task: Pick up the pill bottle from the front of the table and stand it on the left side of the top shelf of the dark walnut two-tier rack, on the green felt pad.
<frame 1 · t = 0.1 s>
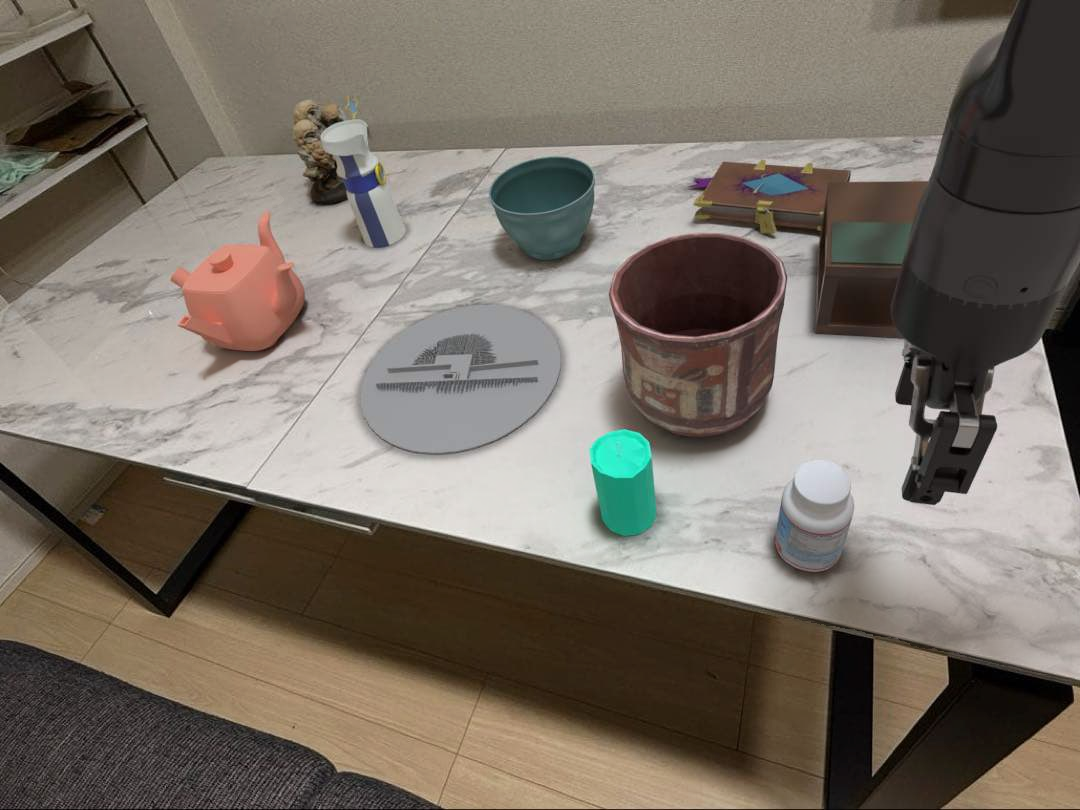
hand: (914, 447, 46), 21 cm above the table, tool pointing down, fingers open, 8 cm apart
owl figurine: (344, 185, 135), on the table
candle: (628, 512, 72), on the table
pill bottle: (807, 547, 65), on the table
water bottle: (386, 235, 119), on the table
teapot: (267, 325, 107), on the table
pottery: (696, 400, 81), on the table
rack: (865, 290, 88), on the table
book: (758, 206, 105), on the table
plate: (460, 374, 91), on the table
flower pot: (552, 244, 108), on the table
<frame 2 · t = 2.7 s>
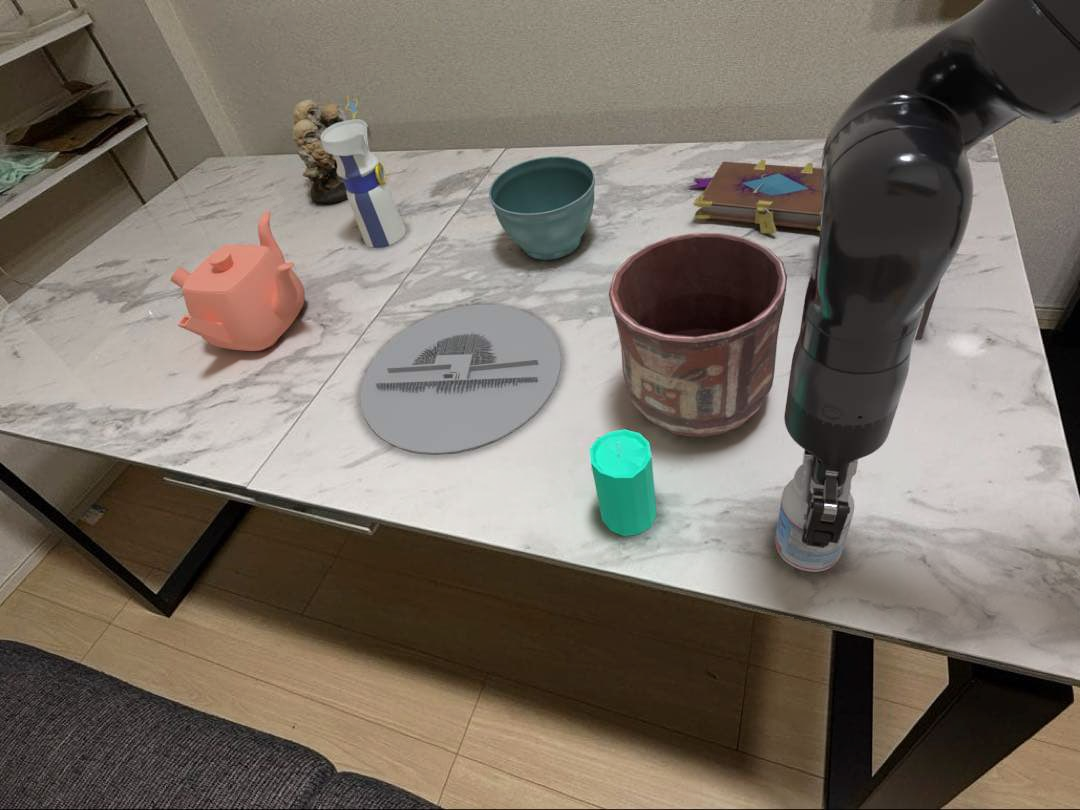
hand: (815, 509, 61), 7 cm above the table, tool pointing down, fingers closed on pill bottle, 6 cm apart
pill bottle: (807, 547, 65), on the table, touching gripper
everything else where it was.
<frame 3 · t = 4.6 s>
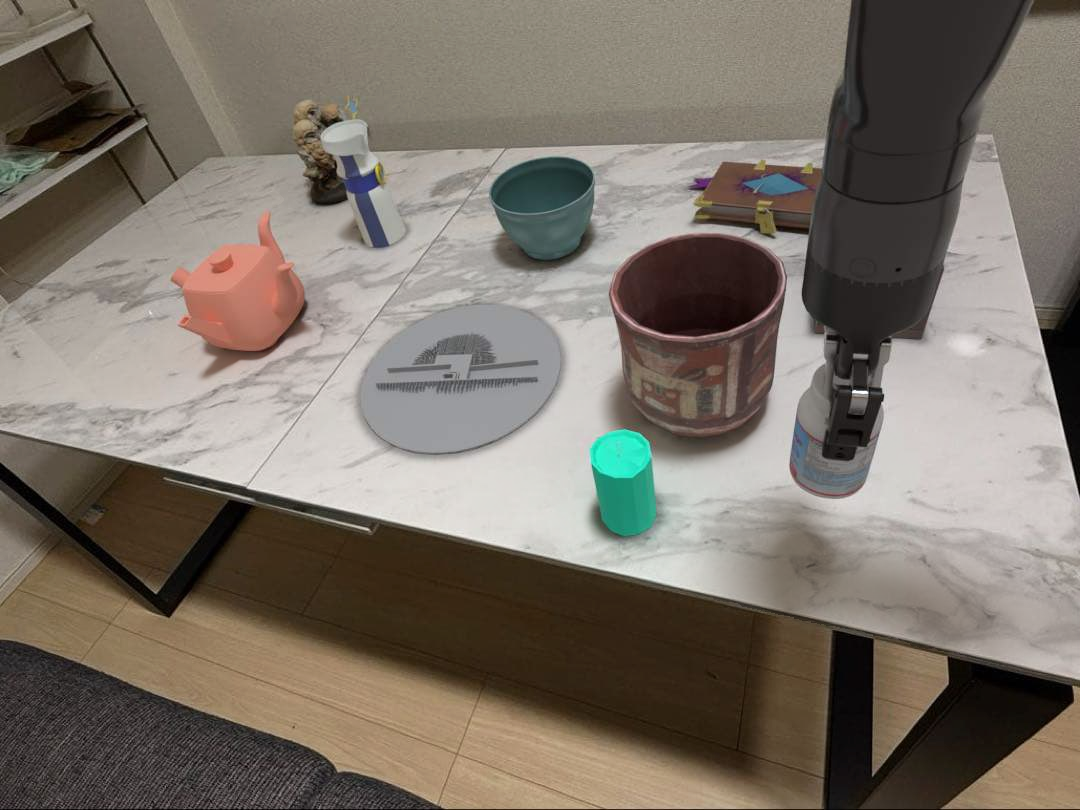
hand: (837, 421, 51), 19 cm above the table, tool pointing down, fingers closed on pill bottle, 6 cm apart
pill bottle: (826, 474, 56), point 12 cm above the table, touching gripper
everything else where it was.
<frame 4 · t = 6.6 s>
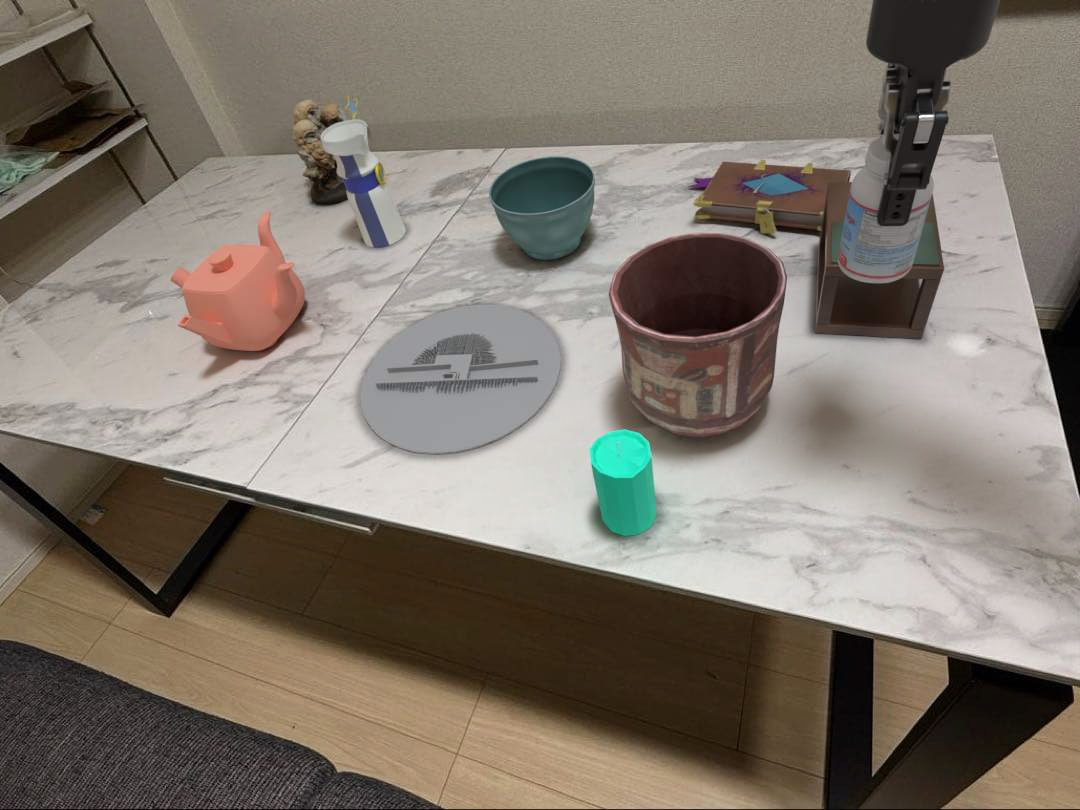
hand: (888, 199, 55), 28 cm above the table, tool pointing down, fingers closed on pill bottle, 6 cm apart
pill bottle: (872, 267, 60), point 21 cm above the table, touching gripper
everything else where it was.
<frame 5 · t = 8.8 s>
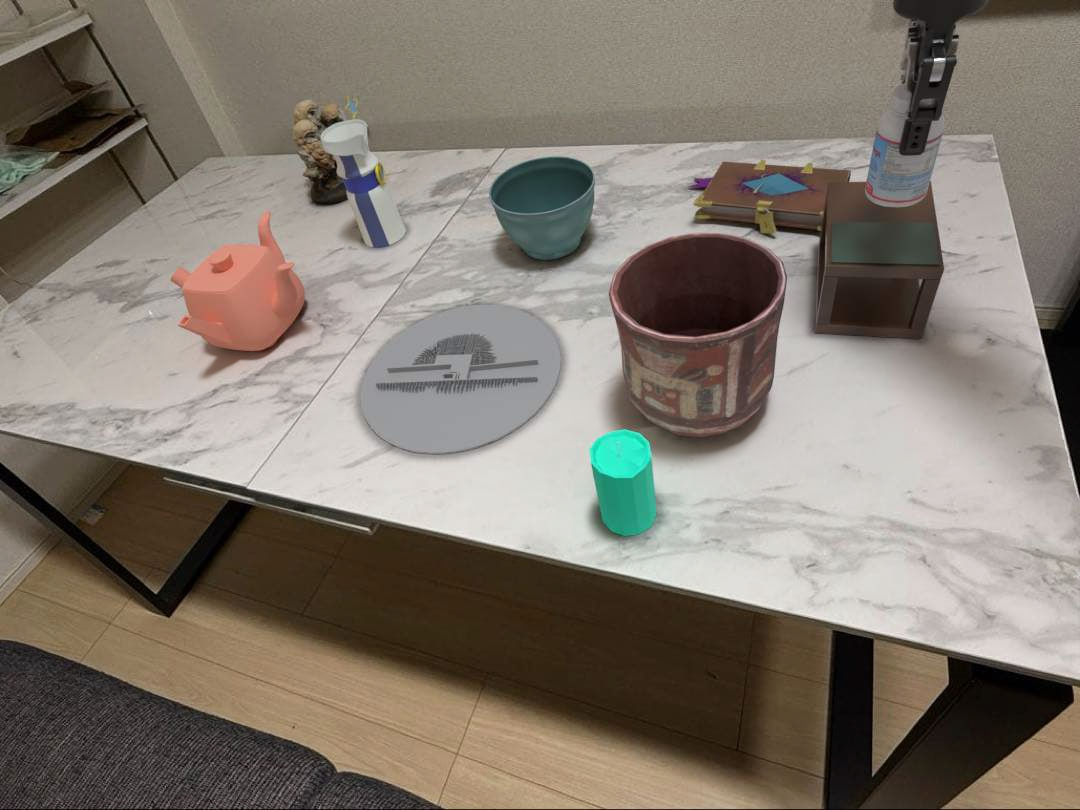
hand: (908, 136, 68), 24 cm above the table, tool pointing down, fingers closed on pill bottle, 6 cm apart
pill bottle: (894, 196, 73), point 17 cm above the table, touching gripper
everything else where it was.
when the fingers open (17 cm above the table, at t = 10.8 s): pill bottle stays where it is, resting on rack.
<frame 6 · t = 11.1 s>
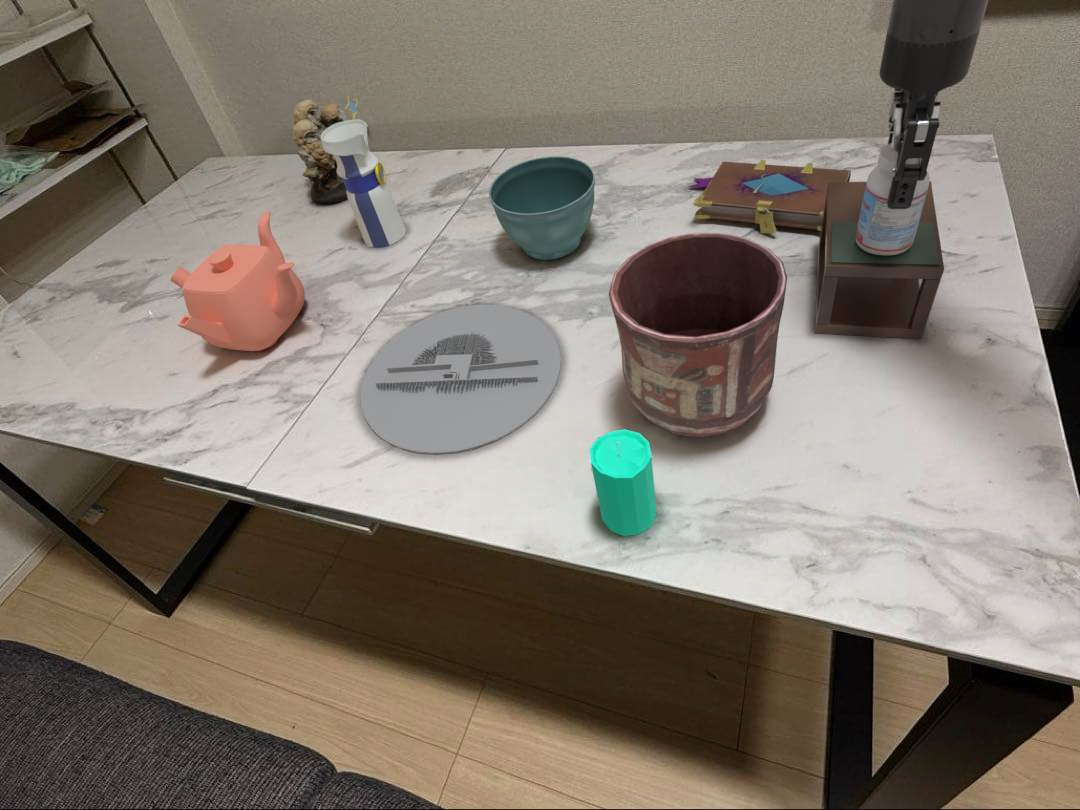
hand: (896, 185, 72), 18 cm above the table, tool pointing down, fingers open, 8 cm apart
pill bottle: (882, 244, 77), point 11 cm above the table, touching rack
everything else where it was.
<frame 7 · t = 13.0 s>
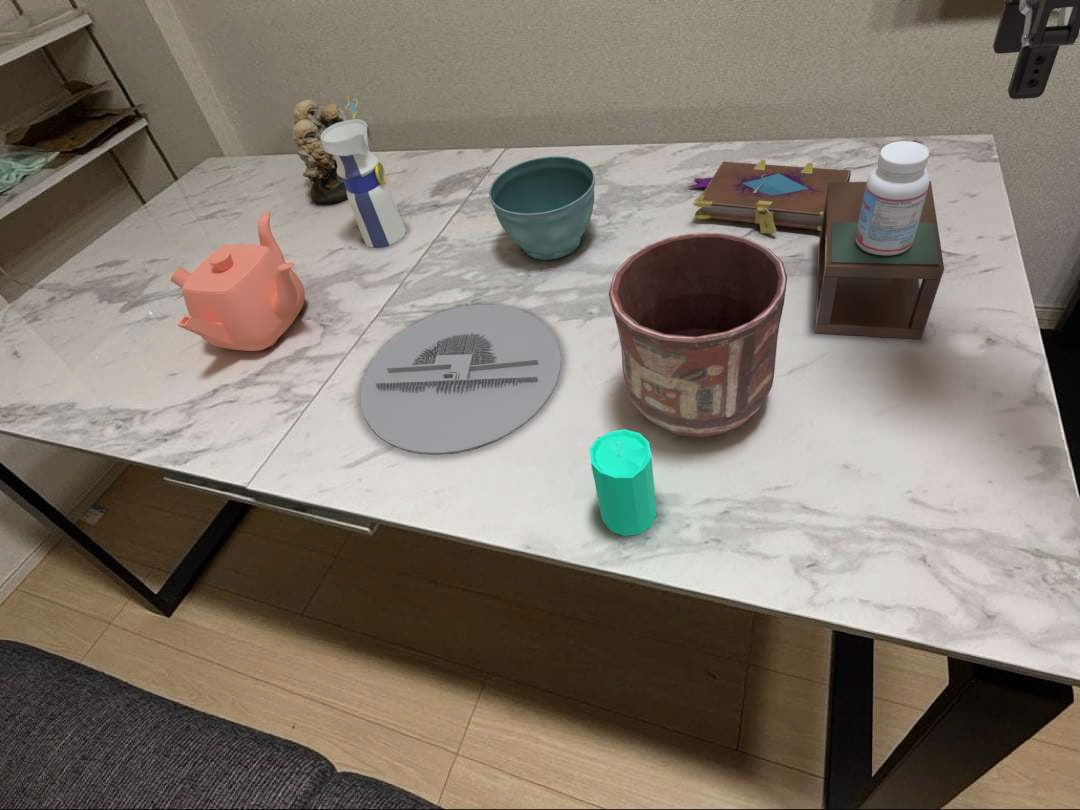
hand: (1015, 72, 53), 34 cm above the table, tool pointing down, fingers open, 8 cm apart
nothing on the table moved.
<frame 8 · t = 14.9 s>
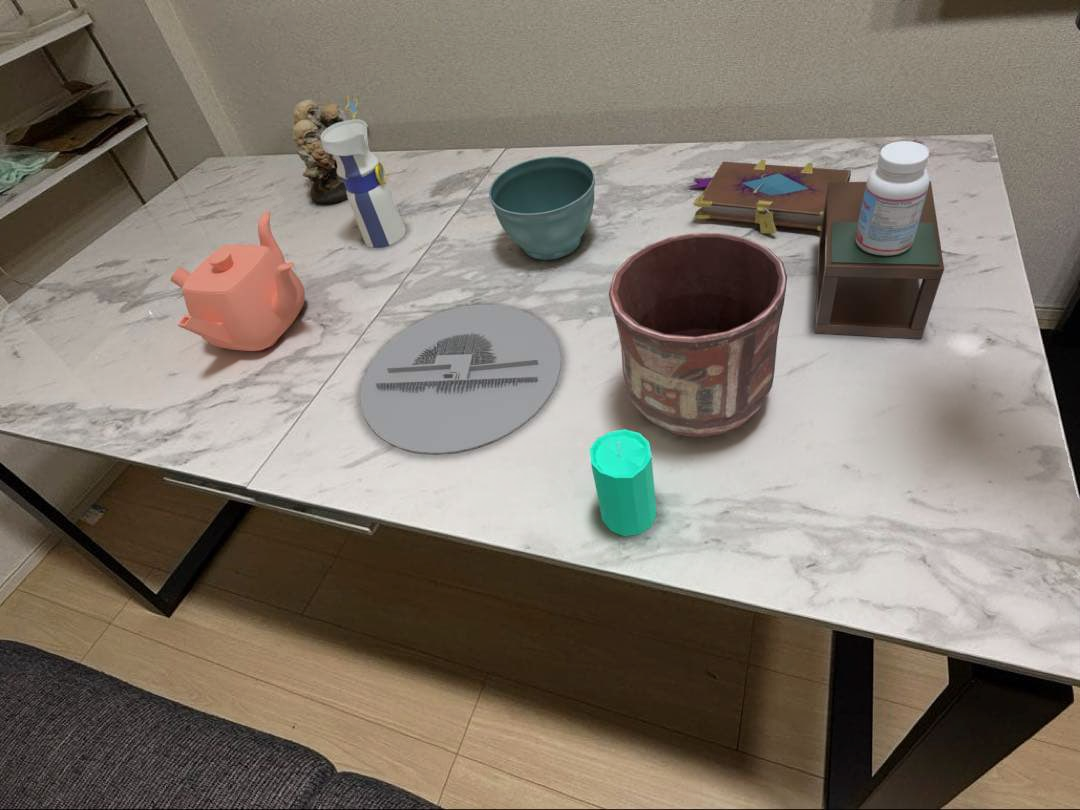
nothing on the table moved.
at the end: pill bottle inside the target area on the rack (0.1 cm from its centre), point 10.5 cm above the rack's base; pill bottle tilted 0°; the gripper is holding nothing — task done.
